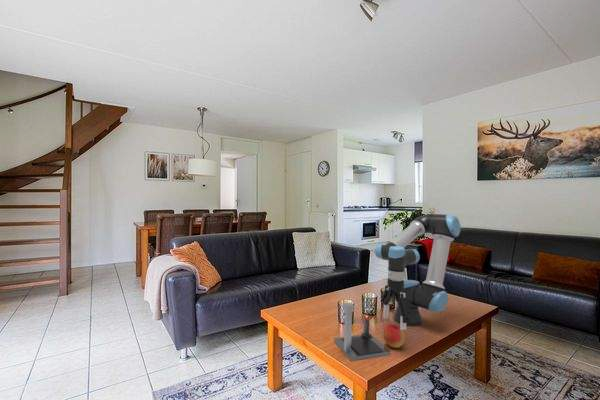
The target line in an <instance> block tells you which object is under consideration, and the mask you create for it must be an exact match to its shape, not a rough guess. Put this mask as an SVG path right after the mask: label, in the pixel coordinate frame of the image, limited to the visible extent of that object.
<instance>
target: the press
mask: <svg viewBox="0 0 600 400" xmlns="http://www.w3.org/2000/svg"><path fill="white" fill-rule="evenodd" d="M342 306H343V307H342V309H343V311H344V329H343V330H344V333H343V336H340V337H334V338H333V339H334V340H333V341H334V342H333V343H335V344H336V345H337V347H338V348H339V349H340V350H341V351H342V352H343V353H344V354H345V356H346V357H347V358H348V359H349V360H350V362H352V361H359V360H365V359H370V358H371V359H372V358H377V357H383V356H384V355H385V356H389V355H388V354H391V353H392V351H391V350H390V349H388V347H387V346H385V345H384V344H383V343H382V342H380V341H379V340H378V339H377V338H376V337H375V336H374V335H372V334H371V337H368V338H364V337H362V336H361V334H356V335H352V333H353V332H352V330H353V329H352V328H353V313H355V304H353V303H352V302H345V303H344V302H343V304H342ZM391 355H392V354H391Z"/></svg>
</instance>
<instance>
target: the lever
mask: <svg viewBox="0 0 600 400" xmlns="http://www.w3.org/2000/svg"><path fill="white" fill-rule="evenodd" d="M362 319H363V333H361V334H360V335H361V336H362V337H364V338H368V337H371V335H372V333H370V320H371V317H370V315H368V314H365V315H364V316H363V318H362Z"/></svg>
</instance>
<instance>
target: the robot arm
mask: <svg viewBox="0 0 600 400" xmlns="http://www.w3.org/2000/svg"><path fill="white" fill-rule="evenodd" d="M424 234H431V236H432V239H433V242H432V247H431V251H430V257H429V263H428V266H427V267H428V268H427V272H426V278H425V280H424V281H422V284H421V285H420V281H419V280H414V279H405V268H406V267H405V266H411V265H415V264H417V263H418V262H419V261H420V259H421V257H420V253H419V251H418V250H417V249H415V248H406V247H407V246H408V245H409V244H411V242H413V241H414V240H415V239H417V238H418V237H419V236H420V237H421V236H423V235H424ZM460 234H461V222H460V220H459V218H458V217H457V216H455V215H452V214H441V213H439V214H438V213H426V214H422V215H421V216H418V217H417V218H415V219H414V220H412V221H411V222H410V223H409V225H408V226H407V227H406V228H405V229H404V230H402V231H401V232H400V233H398V234H397V235H396V236H395V237H393V238H391V240H390V241H388V242H387V243H385V244H378V245H377V246H376V247H375V250H374V255H375V256H376V258H378V259H380V260H382V261H388V264H387V265H388V267H387V278H388V279H387V285H385V286H384V290H383V293H382V295H381V298H380V302H382V304H383V308H382V309H383V313H382V315H383V316H382V317H383V319H389V318H390V302H391V301H392V299H394V300H395V302H396V303H397V304H396V305H397V306H396V309H395V312H394V314H393V320H394V321H395V322H397V323H398V324H399V325H400V326H399V327H400V330H403V331H405V330H407V326H409V325H416V326H419V325H418V324H420V323H421V324H422V316H421V312H420V309H419V308H422V309H425V310H427V311H430V312H434V313H441V312H443V310H444V309H445V308H446V307H447V305H448V301H449V294H448V293H447V292H446V288H445V286H444V285H443V284H444V279H445V274H446V269H447V263H448V258H449V252H450V247H451V243H452V242H453V241H454V240H455V237H456V238H457V237H459V235H460ZM421 324H420V325H421Z"/></svg>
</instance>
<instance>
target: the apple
mask: <svg viewBox="0 0 600 400" xmlns="http://www.w3.org/2000/svg"><path fill="white" fill-rule="evenodd" d="M383 339H384V340H385V343H386V344H387V345H388V346H389V347H391V348H393V349H397V348H400V347H401V346H403V344H404V342H405V341H406V334H405V330H400V326H399V325H397V324H393V323H389V324H387V325H385V328H384V330H383Z"/></svg>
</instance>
